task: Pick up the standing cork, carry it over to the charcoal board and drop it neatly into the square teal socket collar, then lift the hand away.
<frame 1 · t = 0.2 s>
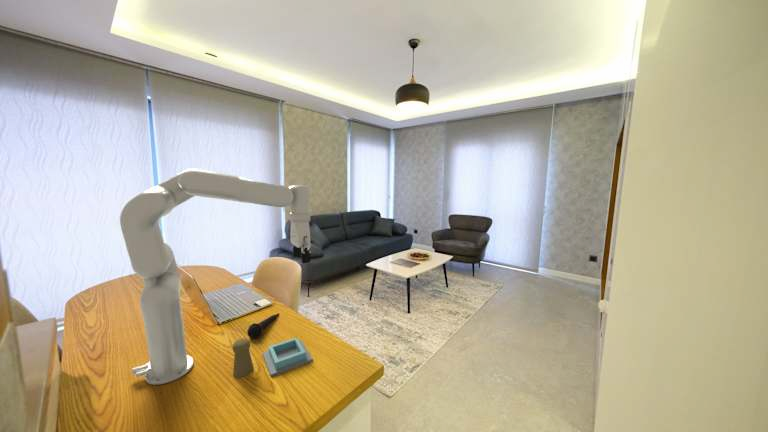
hand: (301, 259, 111), 31 cm above the table, tool pointing down, fingers open, 9 cm apart
microphone: (266, 328, 118), on the table
socket: (287, 357, 99), on the table
cork: (243, 371, 92), on the table
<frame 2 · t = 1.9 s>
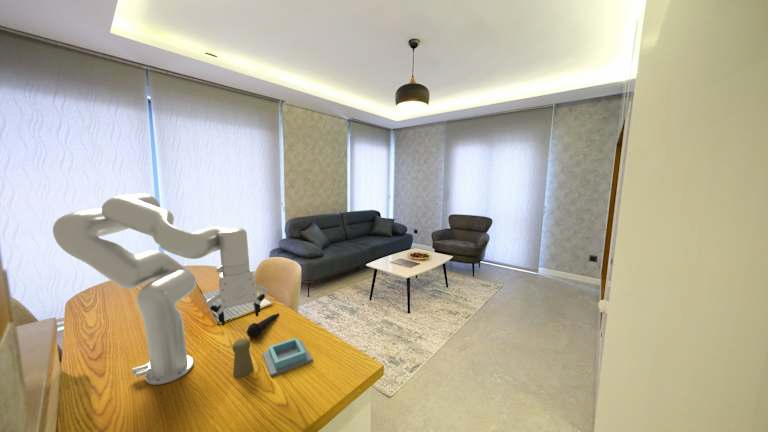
hand: (240, 319, 89), 19 cm above the table, tool pointing down, fingers open, 9 cm apart
nothing on the table moved.
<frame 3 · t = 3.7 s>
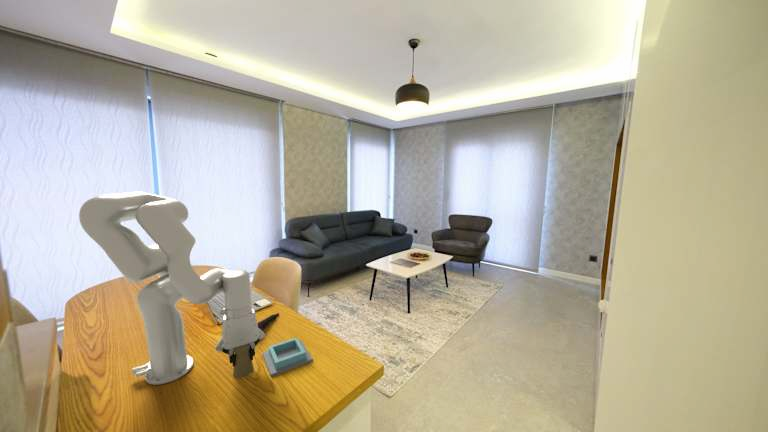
hand: (242, 360, 92), 4 cm above the table, tool pointing down, fingers closed on cork, 4 cm apart
cork: (243, 371, 92), on the table, touching gripper
everything else where it was.
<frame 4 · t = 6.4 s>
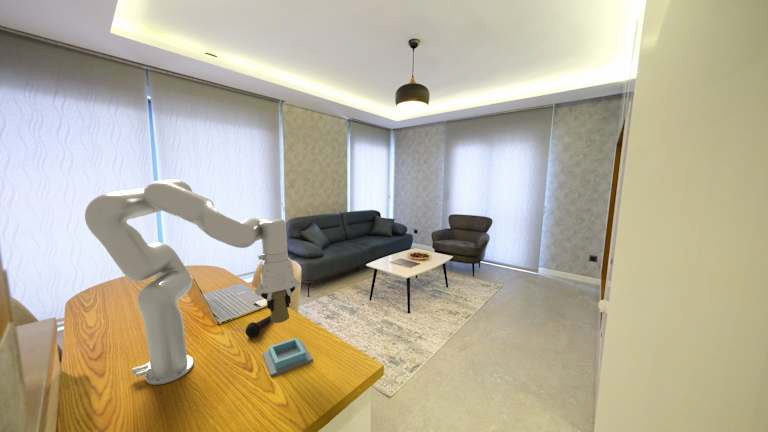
hand: (279, 307, 95), 20 cm above the table, tool pointing down, fingers closed on cork, 4 cm apart
cork: (280, 318, 95), point 16 cm above the table, touching gripper
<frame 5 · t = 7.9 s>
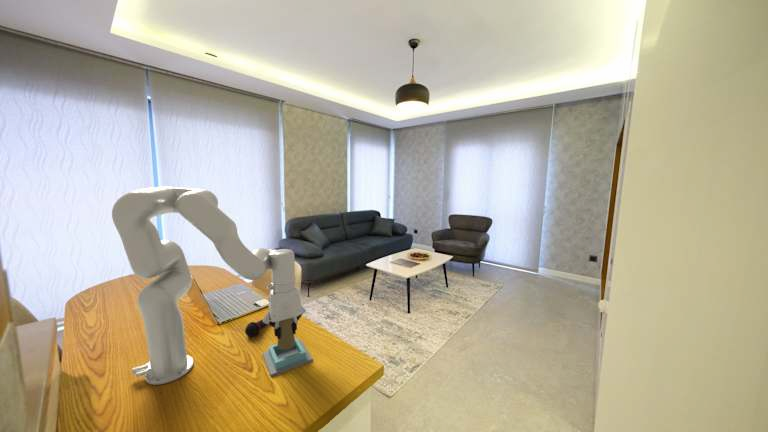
hand: (285, 334, 98), 9 cm above the table, tool pointing down, fingers closed on cork, 4 cm apart
cork: (286, 345, 98), point 5 cm above the table, touching gripper
when the fingers open (6 cm above the table, at t = 8.9 s): cork drops 1 cm, resting on socket.
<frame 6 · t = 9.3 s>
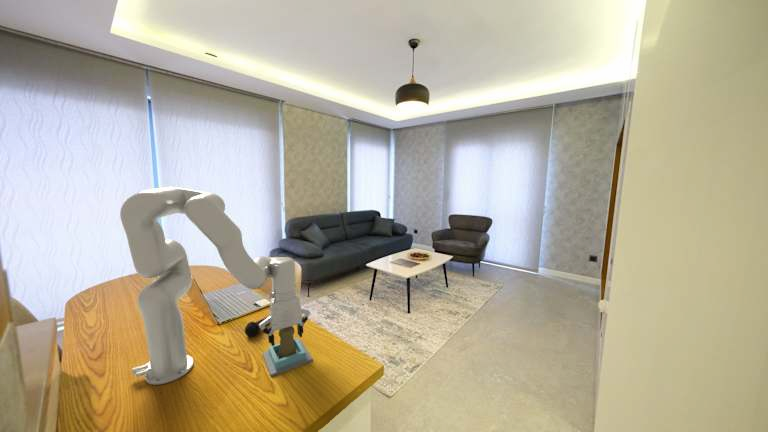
hand: (286, 339, 98), 7 cm above the table, tool pointing down, fingers open, 9 cm apart
cork: (287, 356, 99), point 1 cm above the table, touching socket
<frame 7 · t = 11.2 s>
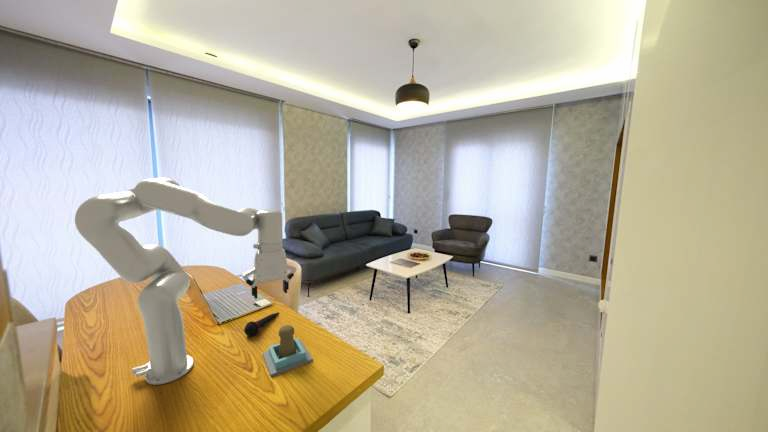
hand: (270, 294, 96), 23 cm above the table, tool pointing down, fingers open, 9 cm apart
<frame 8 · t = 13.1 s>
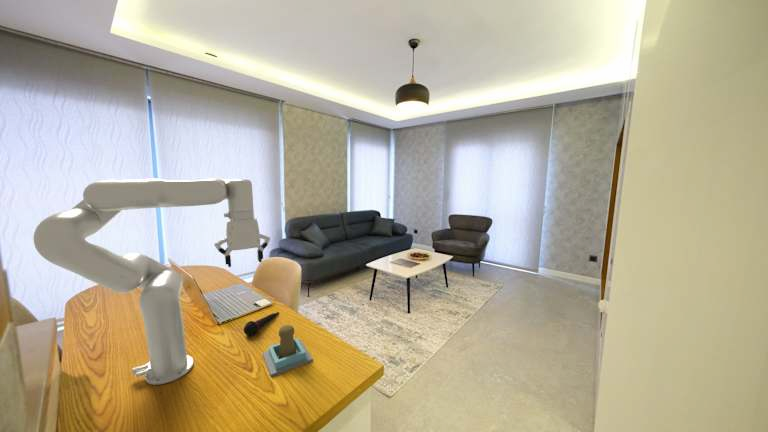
hand: (245, 263, 98), 33 cm above the table, tool pointing down, fingers open, 9 cm apart
at the end: cork 0.1 cm off-centre on the socket, point 0.6 cm above the socket's base; cork tilted 0°; the gripper is holding nothing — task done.
